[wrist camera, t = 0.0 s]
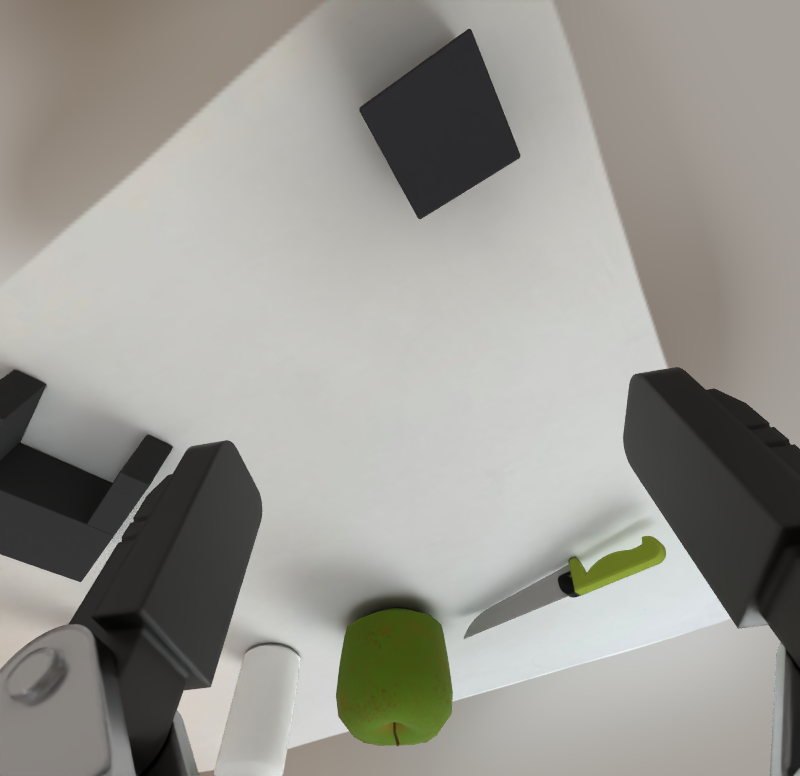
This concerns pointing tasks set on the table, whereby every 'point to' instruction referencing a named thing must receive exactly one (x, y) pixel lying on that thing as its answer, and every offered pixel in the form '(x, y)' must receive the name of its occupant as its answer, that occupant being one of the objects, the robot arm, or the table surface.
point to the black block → (442, 126)
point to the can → (260, 713)
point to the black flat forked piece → (60, 492)
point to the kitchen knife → (571, 583)
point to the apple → (394, 678)
